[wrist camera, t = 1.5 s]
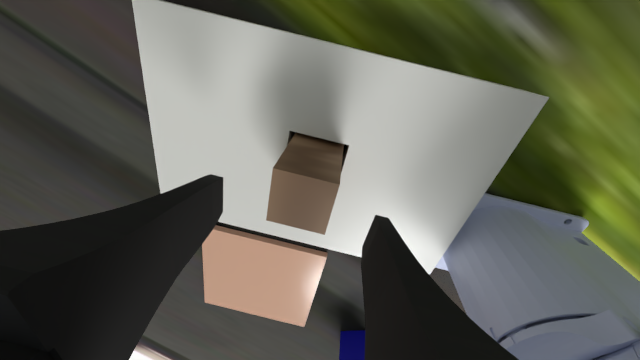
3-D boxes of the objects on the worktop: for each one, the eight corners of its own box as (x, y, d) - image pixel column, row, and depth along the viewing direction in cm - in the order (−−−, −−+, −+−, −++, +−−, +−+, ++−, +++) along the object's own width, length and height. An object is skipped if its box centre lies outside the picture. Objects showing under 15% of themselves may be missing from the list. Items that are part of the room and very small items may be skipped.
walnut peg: (344, 135, 17) (339, 184, 11) (334, 173, 19) (324, 235, 13) (301, 124, 17) (272, 168, 11) (294, 163, 19) (265, 220, 13)
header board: (520, 89, 15) (549, 97, 12) (422, 251, 22) (430, 274, 20) (164, 0, 15) (130, -7, 12) (181, 191, 22) (162, 207, 20)
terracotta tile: (327, 252, 23) (326, 257, 23) (305, 321, 29) (304, 326, 29) (204, 222, 23) (201, 226, 23) (207, 297, 29) (204, 302, 29)
